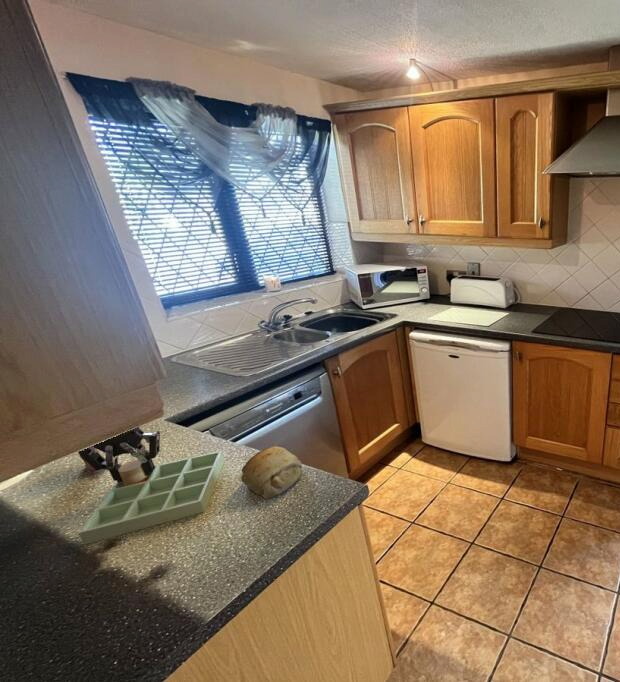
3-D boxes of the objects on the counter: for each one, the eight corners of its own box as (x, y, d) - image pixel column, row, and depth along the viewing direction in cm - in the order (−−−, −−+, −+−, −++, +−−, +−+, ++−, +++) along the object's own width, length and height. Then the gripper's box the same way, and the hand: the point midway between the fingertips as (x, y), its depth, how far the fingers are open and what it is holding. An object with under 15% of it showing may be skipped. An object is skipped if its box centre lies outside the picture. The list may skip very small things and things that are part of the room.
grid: (84, 544, 76) (77, 533, 75) (128, 482, 93) (123, 472, 92) (204, 511, 84) (200, 501, 83) (225, 459, 101) (221, 450, 100)
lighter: (84, 465, 100) (67, 432, 96) (102, 458, 102) (86, 426, 99) (90, 477, 95) (74, 443, 92) (109, 469, 98) (93, 436, 94)
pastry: (256, 466, 98) (248, 440, 95) (309, 458, 101) (302, 432, 98) (233, 506, 85) (223, 477, 82) (294, 495, 88) (287, 467, 85)
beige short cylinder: (119, 486, 88) (113, 474, 87) (128, 474, 92) (122, 462, 90) (145, 480, 90) (139, 468, 88) (152, 468, 94) (147, 457, 92)
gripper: (155, 399, 90) (178, 459, 96) (74, 413, 85) (104, 476, 91) (142, 414, 84) (168, 477, 90) (53, 431, 79) (87, 496, 85)
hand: (136, 476), depth 91 cm, fingers closed on beige short cylinder, 4 cm apart
